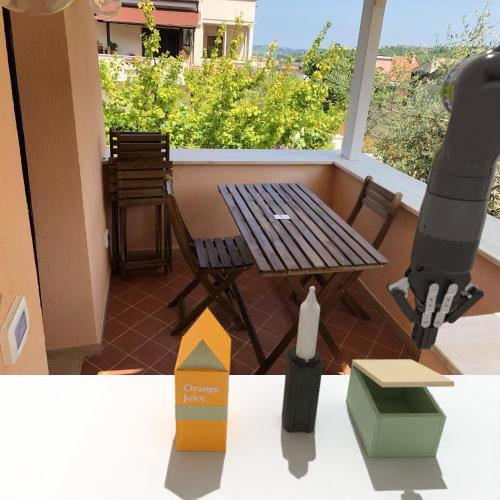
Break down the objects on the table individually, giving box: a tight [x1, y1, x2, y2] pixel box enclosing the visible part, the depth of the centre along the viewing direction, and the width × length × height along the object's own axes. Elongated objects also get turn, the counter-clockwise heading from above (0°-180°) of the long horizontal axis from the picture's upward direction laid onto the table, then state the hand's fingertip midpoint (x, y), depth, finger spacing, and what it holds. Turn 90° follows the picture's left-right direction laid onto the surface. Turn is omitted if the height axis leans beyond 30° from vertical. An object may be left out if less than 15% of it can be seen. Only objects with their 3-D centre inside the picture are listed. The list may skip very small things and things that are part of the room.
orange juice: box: [173, 306, 232, 452], centre depth 65 cm, size 8×9×20 cm
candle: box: [281, 285, 324, 434], centre depth 67 cm, size 5×5×25 cm
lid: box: [351, 358, 455, 388], centre depth 67 cm, size 13×11×1 cm
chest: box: [345, 363, 447, 459], centre depth 70 cm, size 13×11×8 cm
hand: (421, 346), depth 60 cm, fingers closed
